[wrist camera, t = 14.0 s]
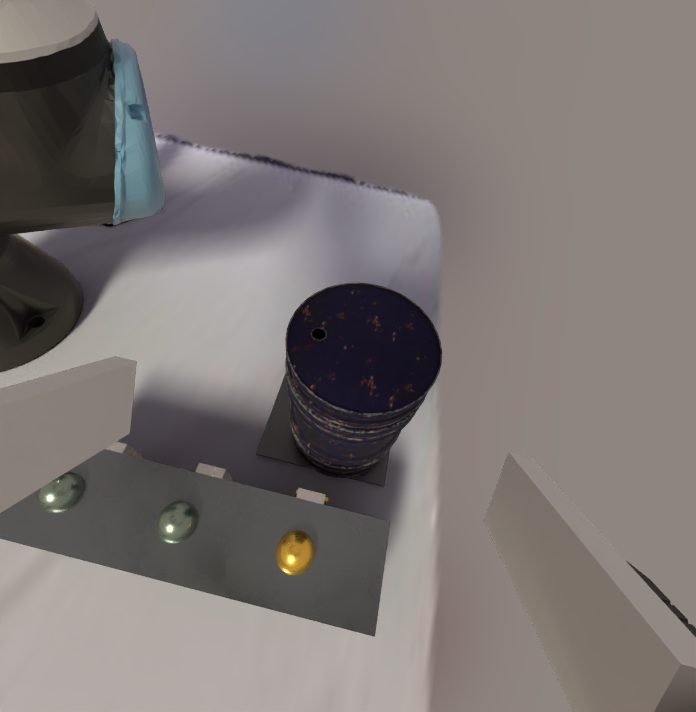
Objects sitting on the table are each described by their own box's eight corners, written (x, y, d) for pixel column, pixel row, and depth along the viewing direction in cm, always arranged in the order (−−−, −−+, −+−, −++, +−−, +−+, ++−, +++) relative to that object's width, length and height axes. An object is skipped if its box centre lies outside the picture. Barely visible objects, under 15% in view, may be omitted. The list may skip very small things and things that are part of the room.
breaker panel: (30, 534, 27) (-83, 519, 19) (169, 319, 38) (135, 255, 31) (362, 621, 26) (387, 642, 18) (400, 375, 38) (425, 324, 30)
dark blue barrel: (393, 389, 36) (441, 293, 24) (390, 485, 31) (448, 428, 19) (300, 375, 36) (298, 271, 23) (280, 470, 31) (265, 402, 18)
